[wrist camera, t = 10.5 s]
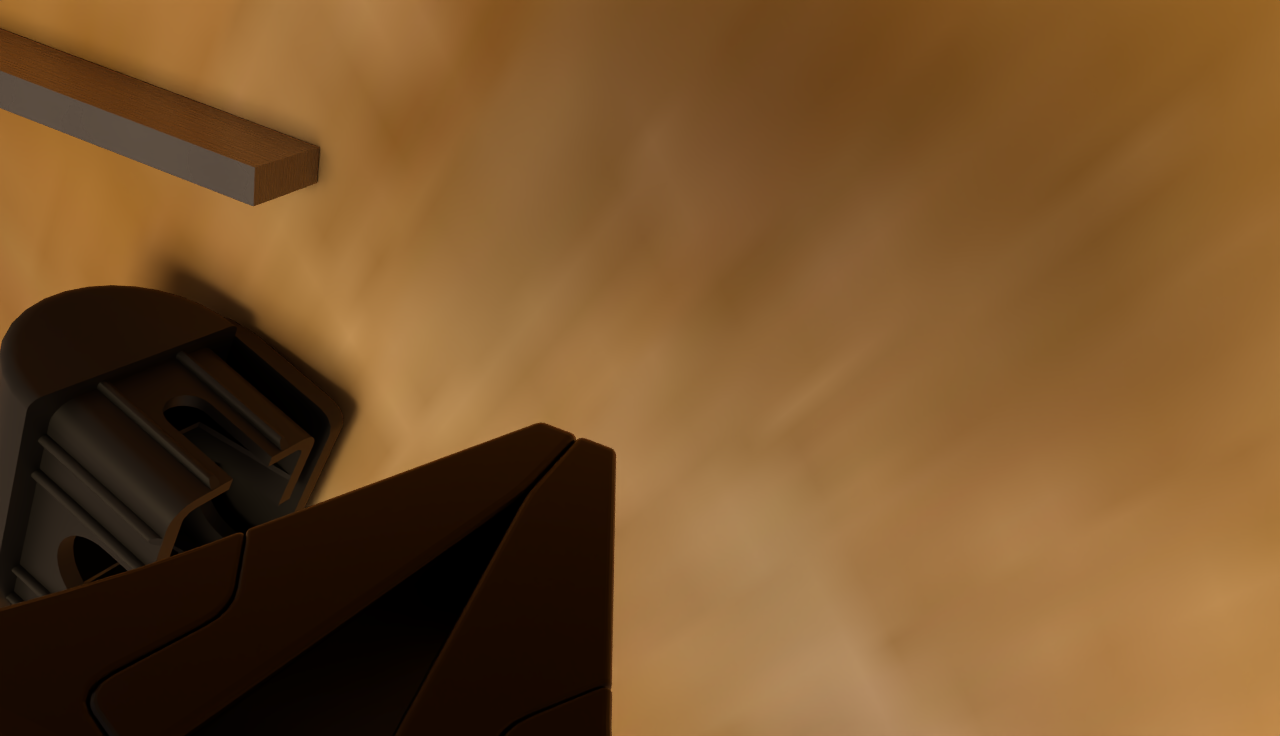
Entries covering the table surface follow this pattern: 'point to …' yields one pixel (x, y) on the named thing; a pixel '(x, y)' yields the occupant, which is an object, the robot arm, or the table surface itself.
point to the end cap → (143, 435)
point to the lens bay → (151, 124)
